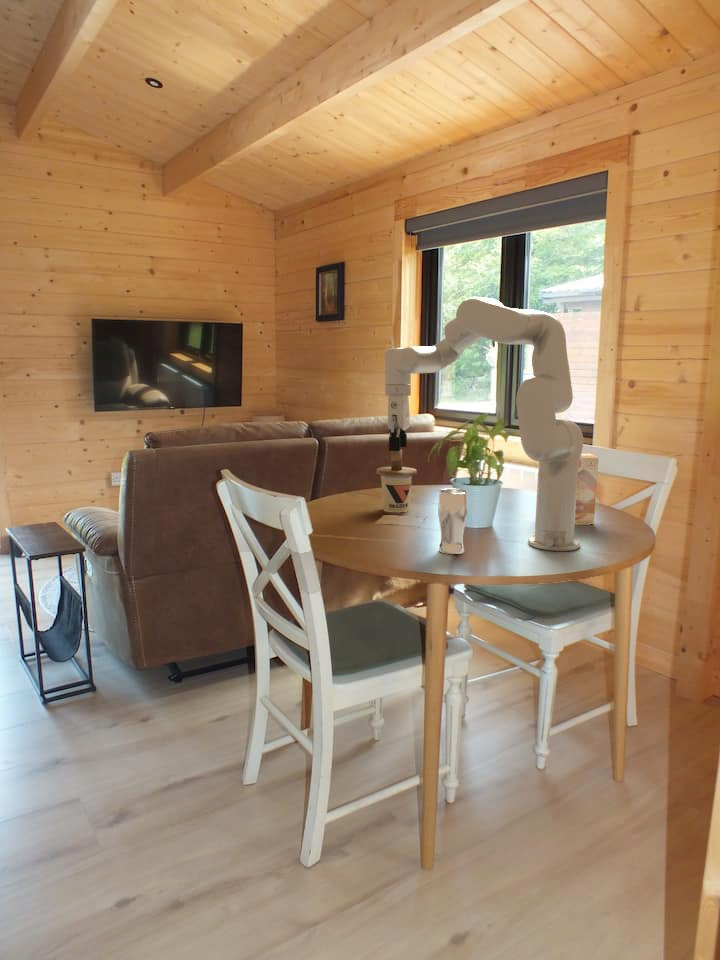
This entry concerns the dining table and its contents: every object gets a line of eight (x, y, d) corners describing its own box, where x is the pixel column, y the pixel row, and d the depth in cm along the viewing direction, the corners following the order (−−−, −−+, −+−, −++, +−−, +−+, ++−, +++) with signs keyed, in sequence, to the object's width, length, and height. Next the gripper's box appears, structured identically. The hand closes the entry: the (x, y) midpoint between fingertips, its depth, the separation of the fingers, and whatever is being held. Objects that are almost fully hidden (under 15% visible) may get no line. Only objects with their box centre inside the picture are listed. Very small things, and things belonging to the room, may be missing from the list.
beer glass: (470, 554, 170) (472, 493, 167) (443, 556, 168) (445, 494, 165) (458, 546, 177) (460, 487, 174) (432, 548, 175) (434, 489, 172)
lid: (412, 477, 205) (412, 453, 203) (372, 475, 208) (372, 451, 207) (420, 470, 216) (420, 448, 215) (381, 468, 219) (381, 446, 218)
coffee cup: (385, 516, 209) (385, 476, 206) (376, 509, 217) (377, 471, 215) (415, 514, 211) (416, 475, 209) (406, 508, 220) (406, 470, 217)
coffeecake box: (541, 525, 199) (545, 456, 195) (535, 519, 206) (538, 452, 202) (594, 525, 199) (599, 456, 196) (586, 519, 206) (590, 453, 203)
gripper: (404, 392, 198) (404, 452, 201) (416, 389, 215) (415, 445, 218) (378, 392, 200) (378, 452, 203) (391, 389, 217) (391, 445, 220)
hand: (398, 448), depth 210 cm, fingers open, 9 cm apart
